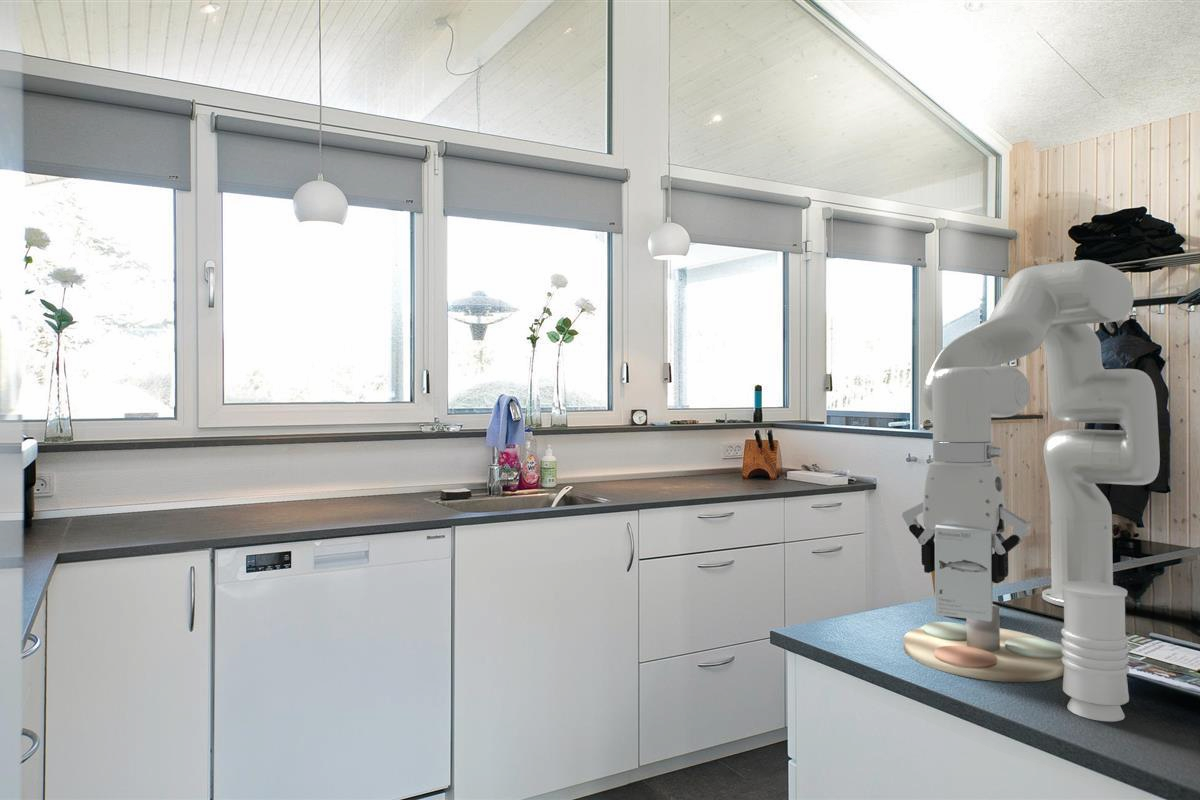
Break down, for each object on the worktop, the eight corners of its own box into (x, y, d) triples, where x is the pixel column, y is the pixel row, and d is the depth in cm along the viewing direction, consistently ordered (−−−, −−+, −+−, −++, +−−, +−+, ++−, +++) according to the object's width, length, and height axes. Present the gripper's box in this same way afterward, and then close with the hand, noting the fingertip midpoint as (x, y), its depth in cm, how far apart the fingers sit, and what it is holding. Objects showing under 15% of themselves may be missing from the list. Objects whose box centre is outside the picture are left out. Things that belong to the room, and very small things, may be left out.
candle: (1136, 710, 93) (1134, 587, 93) (1121, 728, 88) (1119, 598, 88) (1072, 695, 98) (1070, 578, 98) (1054, 711, 93) (1052, 588, 93)
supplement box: (933, 616, 107) (932, 526, 107) (938, 603, 113) (936, 518, 113) (993, 623, 103) (991, 530, 103) (994, 609, 110) (992, 521, 110)
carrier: (938, 623, 129) (937, 576, 129) (1088, 652, 113) (1087, 598, 113) (878, 656, 113) (877, 602, 113) (1043, 695, 98) (1042, 633, 98)
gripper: (1038, 455, 105) (1039, 581, 105) (912, 450, 117) (914, 563, 117) (1020, 458, 99) (1022, 591, 100) (890, 453, 112) (892, 571, 112)
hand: (963, 575), depth 108 cm, fingers closed on supplement box, 8 cm apart
